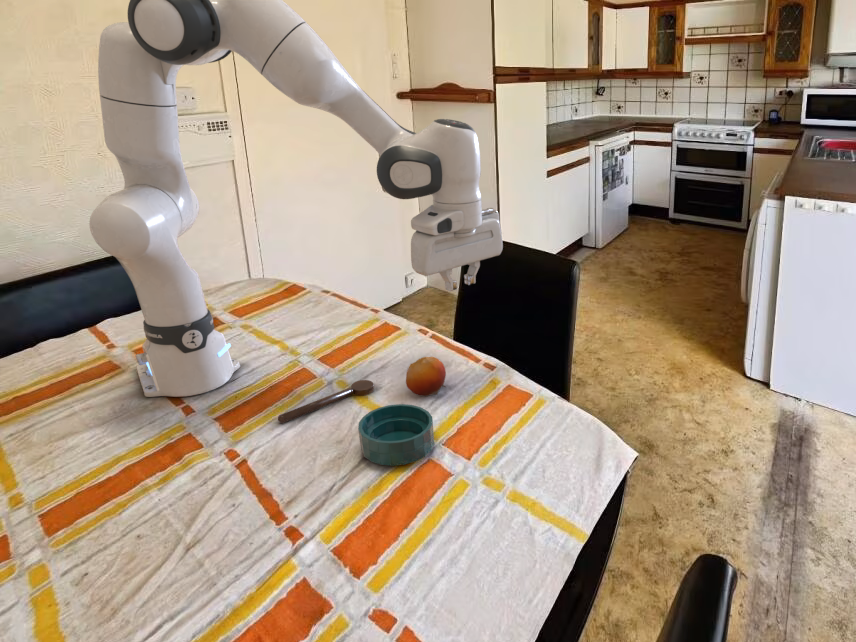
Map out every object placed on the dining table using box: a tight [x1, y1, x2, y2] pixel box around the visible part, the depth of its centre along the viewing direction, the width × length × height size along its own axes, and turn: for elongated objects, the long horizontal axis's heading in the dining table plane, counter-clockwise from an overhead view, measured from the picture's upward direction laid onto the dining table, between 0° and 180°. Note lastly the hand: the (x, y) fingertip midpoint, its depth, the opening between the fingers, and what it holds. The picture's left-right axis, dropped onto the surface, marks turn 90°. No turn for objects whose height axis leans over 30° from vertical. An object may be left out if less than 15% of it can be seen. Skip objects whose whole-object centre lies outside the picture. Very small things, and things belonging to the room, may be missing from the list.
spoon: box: [277, 379, 375, 424], centre depth 119 cm, size 4×20×2 cm, turn 135°
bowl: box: [357, 403, 435, 467], centre depth 105 cm, size 12×12×5 cm
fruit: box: [405, 356, 447, 397], centre depth 122 cm, size 8×8×8 cm
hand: (460, 286), depth 121 cm, fingers open, 3 cm apart
